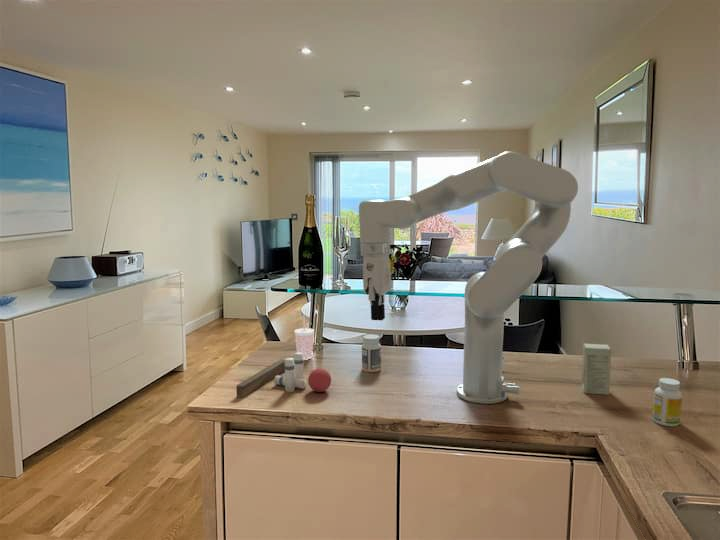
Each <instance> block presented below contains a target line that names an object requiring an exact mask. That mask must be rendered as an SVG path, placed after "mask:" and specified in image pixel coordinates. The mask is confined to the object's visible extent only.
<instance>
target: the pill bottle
mask: <svg viewBox="0 0 720 540" xmlns="http://www.w3.org/2000/svg"><path fill="white" fill-rule="evenodd" d="M362 341H363V344H362V345H361V369H362V370H363V371H364V372H366V373H367V372H368V373H376V372H379V371H381V369H382V345H381V344H380V336H379V335H377V334H365V335H363V339H362Z"/></svg>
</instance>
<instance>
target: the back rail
mask: <svg viewBox="0 0 720 540" xmlns="http://www.w3.org/2000/svg"><path fill="white" fill-rule="evenodd" d="M282 373H285V359H279V360H277V361H275V362H273V363H271V364H270V365H268V366H266V367H265V368H264V369H262V370H260V371H258V372H256V373H254V374H252V375H251V376H250V377H248V378H246V379H245V380H243V381H241V382H240V383H238V384H236V389H235V390H236V397H237V398H245V397H247V396H249V395H250V394H252V393H253V392H255V391H256V390H258V389H259V388H261V387H262V386H264V385H266V384H267V383H268V382H270V381H272V380H273V379H275V377H276V376H277V375H278V376H281V374H282Z"/></svg>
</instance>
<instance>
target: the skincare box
mask: <svg viewBox="0 0 720 540" xmlns="http://www.w3.org/2000/svg"><path fill="white" fill-rule="evenodd" d="M582 345H583V346H582V367H581V368H582V370H581V389H582V392H583V393H584V394H593V395H595V394H596V395H598V394H599V395H610V389H611V388H610V385H611V381H610V380H611V364H612V363H611V358H612V356H611V355H612V349H611V346H610V345H609V344H604V343H603V344H601V343H600V344H599V343H583V344H582Z"/></svg>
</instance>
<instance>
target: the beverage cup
mask: <svg viewBox="0 0 720 540" xmlns="http://www.w3.org/2000/svg"><path fill="white" fill-rule="evenodd" d="M305 317H306V316H305V314H303V317H302V321H303V322H302V323H303V325H302V326H303V328H302V327H301V328H297V329H294V330H293V331H294V332H293V333H294V335H295V345H296V353H297V352H301V353H303V360H308V359H311V358H312V359H313V350H314V349H313V347H314V334H315V329H314V328H310V327H306V318H305ZM312 359H311V360H312ZM308 361H309V360H308Z"/></svg>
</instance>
